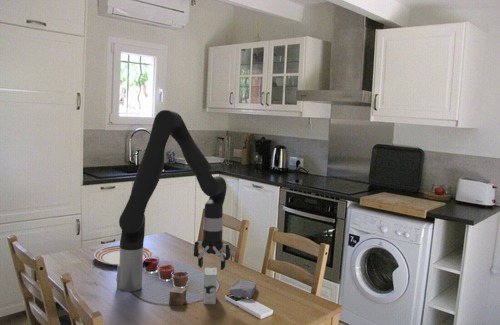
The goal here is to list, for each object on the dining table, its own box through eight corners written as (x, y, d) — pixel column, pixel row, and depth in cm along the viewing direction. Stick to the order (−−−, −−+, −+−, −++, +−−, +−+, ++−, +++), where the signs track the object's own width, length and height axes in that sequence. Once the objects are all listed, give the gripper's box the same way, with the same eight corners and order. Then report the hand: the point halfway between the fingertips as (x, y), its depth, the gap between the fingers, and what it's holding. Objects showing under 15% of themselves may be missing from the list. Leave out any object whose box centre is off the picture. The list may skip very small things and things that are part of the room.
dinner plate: (164, 259, 219) (164, 252, 219) (121, 274, 196) (121, 267, 196) (126, 247, 234) (126, 241, 233) (81, 260, 211) (81, 253, 210)
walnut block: (169, 304, 169) (169, 291, 169) (173, 298, 174) (174, 286, 174) (181, 305, 168) (182, 293, 168) (185, 300, 173) (186, 288, 173)
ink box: (203, 295, 179) (204, 267, 178) (215, 295, 180) (216, 267, 178) (202, 304, 171) (204, 274, 169) (215, 304, 171) (217, 275, 170)
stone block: (228, 301, 179) (252, 300, 177) (227, 289, 179) (251, 288, 177) (235, 291, 191) (258, 289, 189) (234, 280, 190) (256, 278, 188)
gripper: (232, 227, 174) (231, 266, 176) (198, 224, 177) (196, 263, 179) (228, 232, 167) (226, 273, 169) (192, 228, 170) (191, 269, 171)
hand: (211, 268), depth 174 cm, fingers open, 8 cm apart
